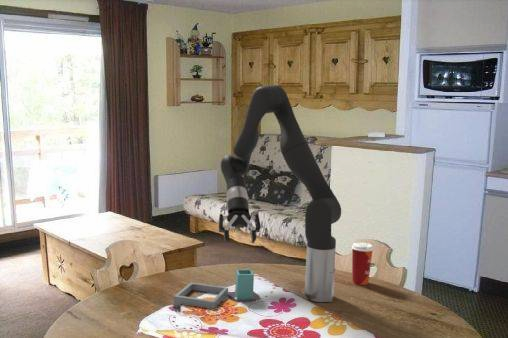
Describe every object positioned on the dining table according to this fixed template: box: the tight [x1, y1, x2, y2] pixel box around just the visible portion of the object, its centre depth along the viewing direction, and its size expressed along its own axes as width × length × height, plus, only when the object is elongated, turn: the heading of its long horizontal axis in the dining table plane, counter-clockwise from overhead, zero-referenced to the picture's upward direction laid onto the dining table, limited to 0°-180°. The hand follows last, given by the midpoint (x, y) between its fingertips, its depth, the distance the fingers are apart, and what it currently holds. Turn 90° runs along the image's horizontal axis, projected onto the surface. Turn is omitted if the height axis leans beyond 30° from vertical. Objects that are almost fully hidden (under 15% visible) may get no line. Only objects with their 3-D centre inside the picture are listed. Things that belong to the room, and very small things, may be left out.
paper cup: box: [351, 241, 374, 286], centre depth 181 cm, size 8×8×14 cm
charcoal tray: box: [173, 282, 229, 310], centre depth 158 cm, size 13×13×4 cm
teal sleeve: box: [234, 269, 255, 300], centre depth 160 cm, size 5×5×8 cm
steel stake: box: [227, 291, 261, 304], centre depth 160 cm, size 10×10×6 cm
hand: (240, 242), depth 170 cm, fingers open, 8 cm apart
